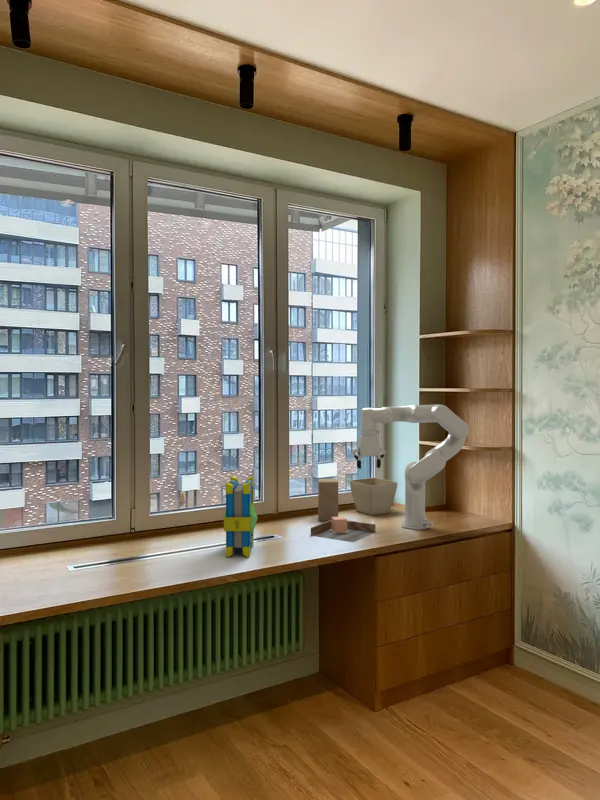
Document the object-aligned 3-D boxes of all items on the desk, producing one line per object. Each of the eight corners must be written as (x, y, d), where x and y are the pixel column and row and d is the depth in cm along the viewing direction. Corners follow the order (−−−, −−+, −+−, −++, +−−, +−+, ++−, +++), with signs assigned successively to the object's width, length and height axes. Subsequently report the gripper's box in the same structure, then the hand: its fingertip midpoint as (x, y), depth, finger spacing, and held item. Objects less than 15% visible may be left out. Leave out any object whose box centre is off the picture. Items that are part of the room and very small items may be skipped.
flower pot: (398, 513, 329) (398, 482, 329) (370, 517, 319) (370, 485, 319) (375, 507, 345) (375, 477, 345) (348, 511, 335) (348, 480, 335)
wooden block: (338, 521, 310) (338, 481, 309) (318, 521, 310) (318, 481, 310) (337, 517, 320) (337, 478, 319) (318, 516, 320) (318, 478, 320)
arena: (375, 532, 286) (375, 524, 286) (353, 543, 268) (353, 534, 268) (334, 526, 298) (334, 518, 298) (310, 536, 280) (310, 527, 279)
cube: (343, 529, 291) (343, 516, 291) (347, 532, 285) (347, 519, 285) (331, 529, 290) (331, 517, 290) (334, 532, 284) (334, 519, 284)
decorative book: (219, 558, 244) (219, 483, 243) (227, 543, 267) (227, 474, 266) (255, 558, 244) (255, 483, 243) (259, 543, 267) (259, 474, 266)
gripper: (383, 432, 305) (383, 466, 305) (349, 432, 301) (349, 467, 301) (388, 433, 297) (388, 468, 298) (354, 434, 294) (354, 469, 294)
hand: (368, 468), depth 300 cm, fingers open, 9 cm apart
